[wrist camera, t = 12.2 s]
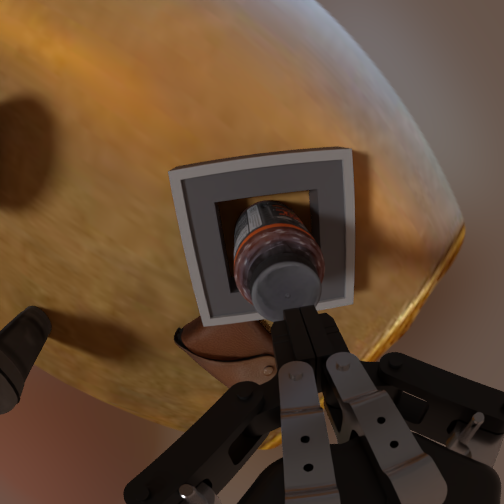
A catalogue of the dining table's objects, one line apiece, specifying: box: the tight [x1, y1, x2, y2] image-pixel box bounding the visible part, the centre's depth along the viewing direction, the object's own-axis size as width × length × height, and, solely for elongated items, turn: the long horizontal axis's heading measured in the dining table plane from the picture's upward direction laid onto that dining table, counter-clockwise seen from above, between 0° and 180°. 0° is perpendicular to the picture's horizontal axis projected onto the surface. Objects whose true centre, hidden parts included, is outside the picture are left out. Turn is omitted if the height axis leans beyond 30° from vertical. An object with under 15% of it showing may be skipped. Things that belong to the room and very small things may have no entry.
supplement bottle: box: [234, 201, 325, 322], centre depth 21 cm, size 6×6×11 cm
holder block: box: [168, 147, 355, 327], centre depth 25 cm, size 14×14×3 cm
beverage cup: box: [0, 306, 51, 414], centre depth 20 cm, size 7×7×20 cm
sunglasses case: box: [174, 316, 277, 388], centre depth 31 cm, size 18×7×7 cm
